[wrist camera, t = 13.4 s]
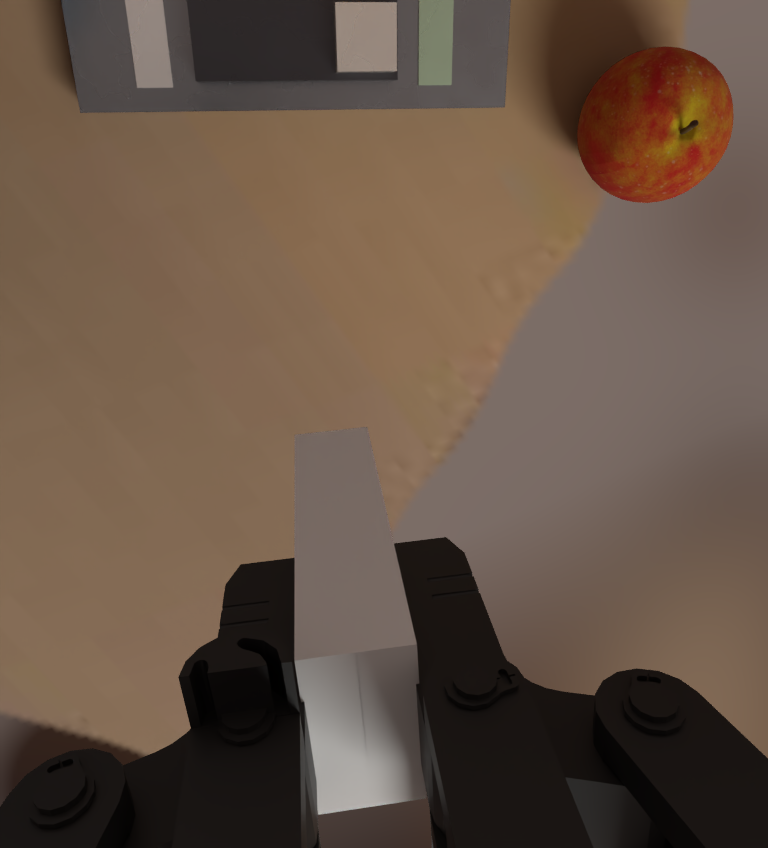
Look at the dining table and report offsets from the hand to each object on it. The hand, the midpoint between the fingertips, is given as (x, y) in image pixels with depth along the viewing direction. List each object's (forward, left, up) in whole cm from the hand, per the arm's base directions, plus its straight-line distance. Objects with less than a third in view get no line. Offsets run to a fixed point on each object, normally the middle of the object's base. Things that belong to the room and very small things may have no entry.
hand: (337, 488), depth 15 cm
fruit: (+17, +6, -26) cm, 32 cm away
